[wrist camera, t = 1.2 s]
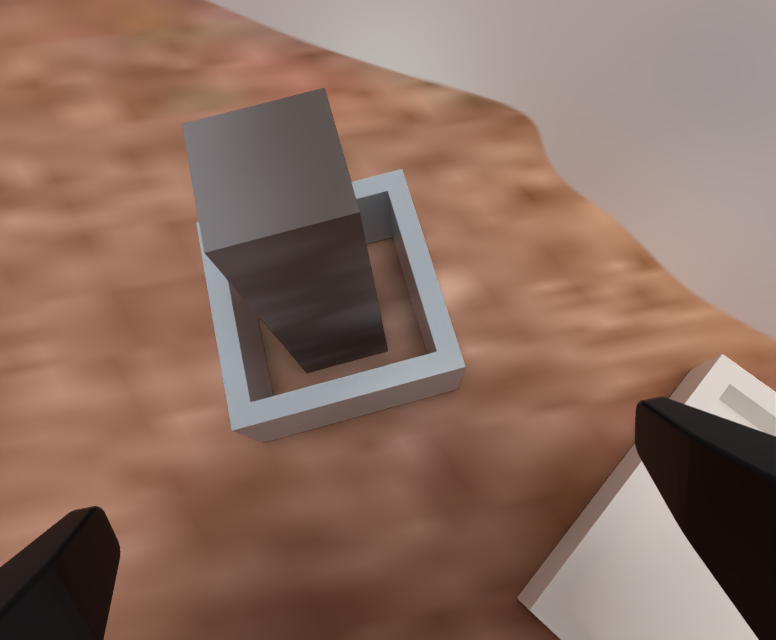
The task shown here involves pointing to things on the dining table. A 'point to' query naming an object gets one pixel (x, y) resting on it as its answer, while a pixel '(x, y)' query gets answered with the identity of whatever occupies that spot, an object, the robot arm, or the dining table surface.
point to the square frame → (354, 392)
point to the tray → (646, 543)
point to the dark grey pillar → (288, 226)
